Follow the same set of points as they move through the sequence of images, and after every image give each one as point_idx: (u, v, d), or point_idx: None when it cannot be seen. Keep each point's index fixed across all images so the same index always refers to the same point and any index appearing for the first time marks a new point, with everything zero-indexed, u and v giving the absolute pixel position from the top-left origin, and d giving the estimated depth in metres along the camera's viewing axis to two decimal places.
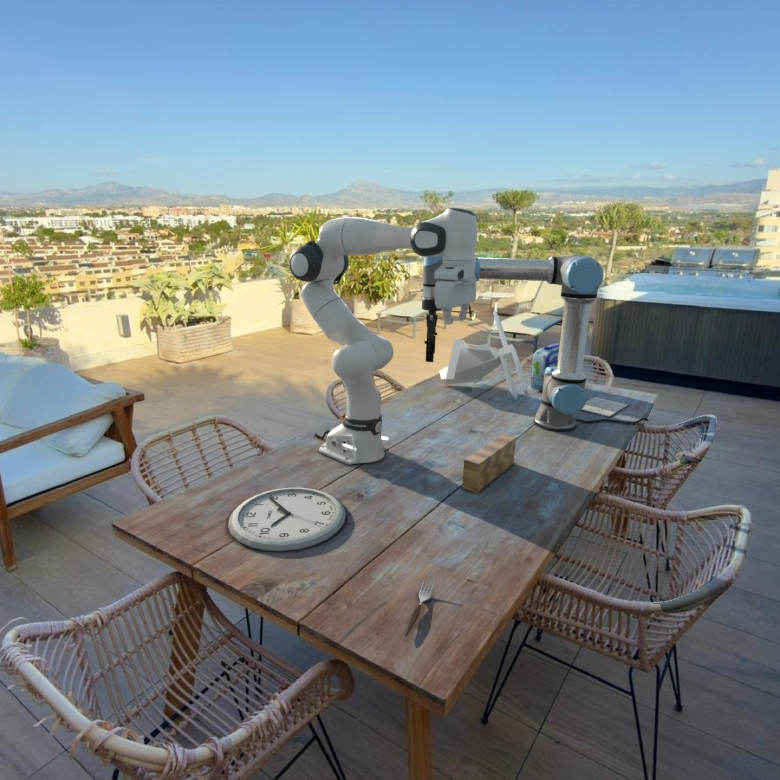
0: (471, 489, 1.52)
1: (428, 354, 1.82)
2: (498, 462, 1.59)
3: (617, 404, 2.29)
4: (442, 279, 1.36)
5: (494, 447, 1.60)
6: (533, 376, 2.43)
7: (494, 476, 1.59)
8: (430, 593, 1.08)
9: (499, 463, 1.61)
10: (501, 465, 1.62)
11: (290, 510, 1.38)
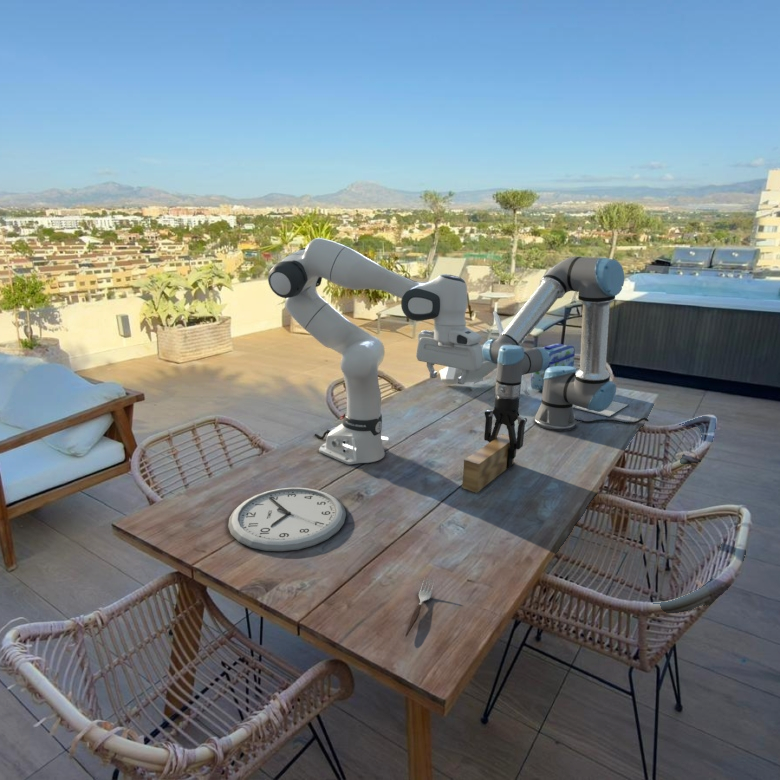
0: (471, 489, 1.52)
1: (510, 460, 1.65)
2: (498, 462, 1.59)
3: (617, 404, 2.29)
4: (474, 344, 1.43)
5: (494, 446, 1.60)
6: (533, 376, 2.43)
7: (494, 476, 1.59)
8: (430, 593, 1.08)
9: (499, 463, 1.61)
10: (501, 465, 1.62)
11: (290, 510, 1.38)
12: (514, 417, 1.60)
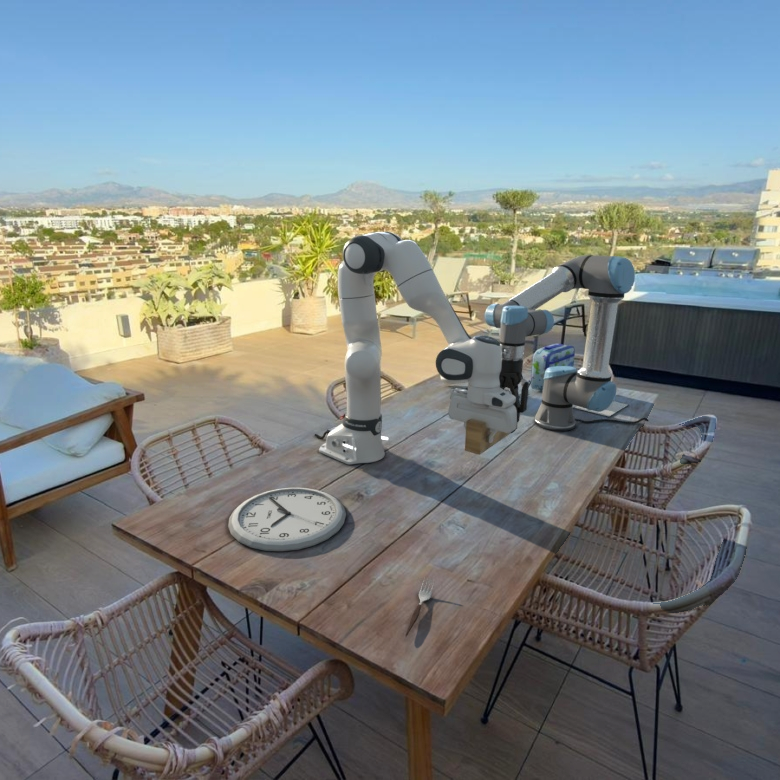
0: (474, 451, 1.48)
1: None
2: None
3: (617, 404, 2.29)
4: (509, 406, 1.42)
5: None
6: (533, 376, 2.43)
7: (497, 440, 1.56)
8: (430, 593, 1.08)
9: None
10: None
11: (290, 510, 1.38)
12: (518, 379, 1.57)
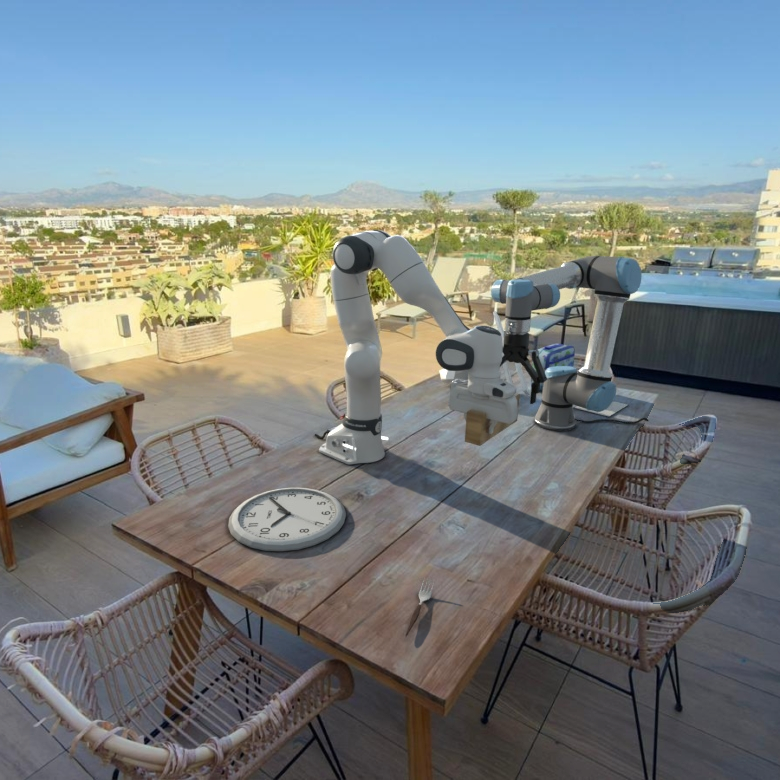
0: (474, 442, 1.47)
1: (534, 395, 1.59)
2: None
3: (617, 404, 2.29)
4: (510, 396, 1.41)
5: None
6: None
7: (497, 431, 1.55)
8: (430, 593, 1.08)
9: None
10: None
11: (290, 510, 1.38)
12: (524, 353, 1.57)
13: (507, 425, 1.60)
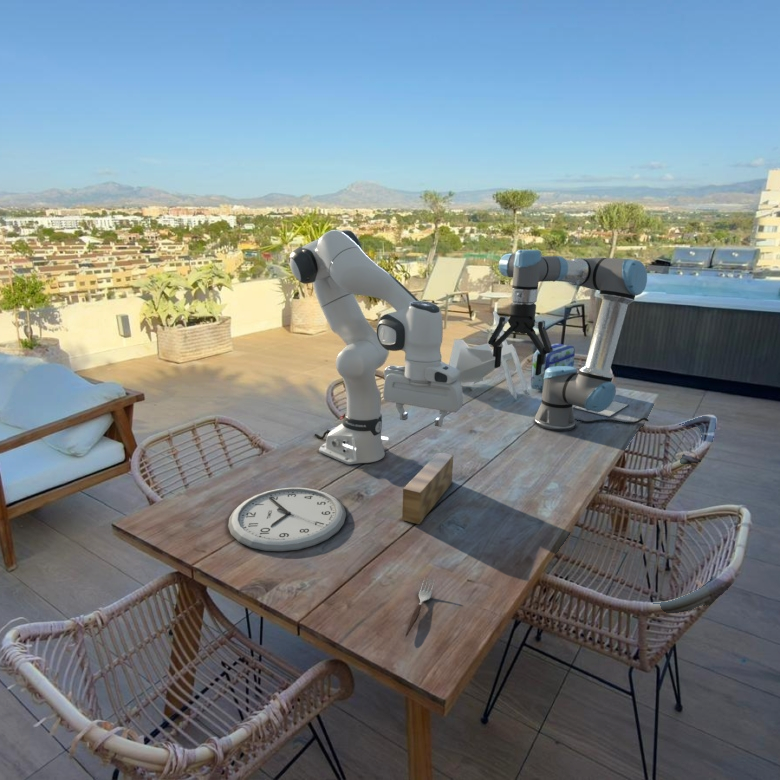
0: (412, 520, 1.35)
1: (539, 367, 1.59)
2: (437, 485, 1.44)
3: (617, 404, 2.29)
4: (454, 381, 1.24)
5: (433, 469, 1.45)
6: (533, 376, 2.43)
7: (434, 501, 1.44)
8: (430, 593, 1.08)
9: (439, 487, 1.46)
10: (440, 488, 1.47)
11: (290, 510, 1.38)
12: (531, 324, 1.57)
13: (443, 491, 1.50)
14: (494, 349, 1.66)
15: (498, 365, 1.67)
